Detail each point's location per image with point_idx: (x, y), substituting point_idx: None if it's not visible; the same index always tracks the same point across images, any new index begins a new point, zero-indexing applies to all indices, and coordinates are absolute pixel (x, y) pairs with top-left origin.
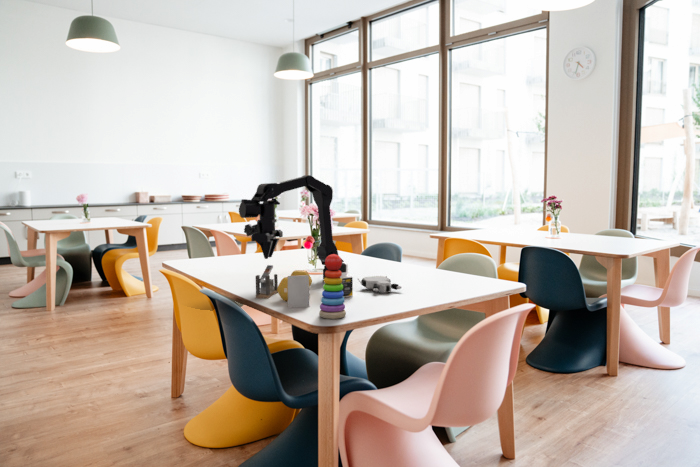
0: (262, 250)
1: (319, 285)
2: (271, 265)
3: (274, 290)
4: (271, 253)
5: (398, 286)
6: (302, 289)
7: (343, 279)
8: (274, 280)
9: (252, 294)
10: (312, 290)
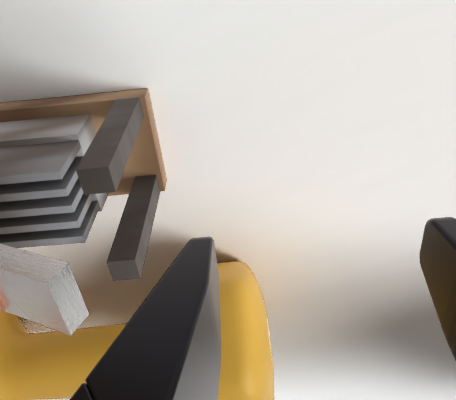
0: (91, 386)
1: None
2: (61, 324)
3: (127, 179)
4: (451, 331)
5: None
6: None
7: None
8: (120, 225)
9: (10, 13)
10: (284, 330)
